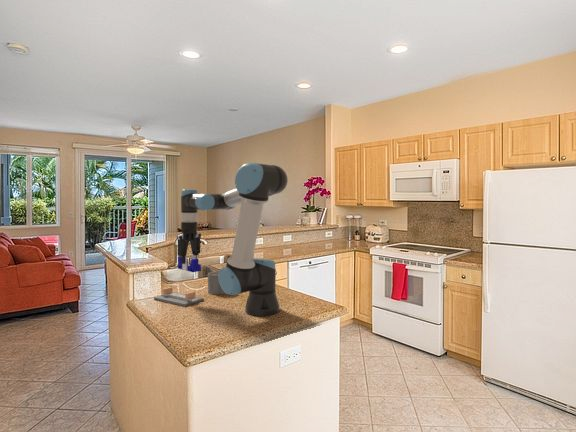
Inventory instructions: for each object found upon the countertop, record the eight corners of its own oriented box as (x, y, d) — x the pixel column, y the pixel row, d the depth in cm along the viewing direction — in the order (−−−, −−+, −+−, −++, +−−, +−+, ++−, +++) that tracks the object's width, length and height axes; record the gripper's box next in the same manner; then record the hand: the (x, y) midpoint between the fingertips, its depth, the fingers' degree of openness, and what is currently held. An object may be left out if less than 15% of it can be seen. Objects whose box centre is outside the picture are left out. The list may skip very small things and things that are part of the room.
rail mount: (203, 300, 173) (203, 290, 173) (184, 306, 163) (184, 296, 162) (173, 294, 184) (173, 284, 184) (153, 299, 174) (153, 289, 174)
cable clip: (200, 270, 169) (201, 258, 169) (193, 272, 166) (193, 259, 165) (185, 267, 177) (185, 255, 176) (177, 268, 173) (177, 256, 173)
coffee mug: (227, 293, 186) (227, 274, 185) (208, 294, 183) (207, 275, 183) (226, 287, 199) (225, 269, 198) (207, 288, 196) (207, 270, 196)
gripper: (197, 220, 179) (197, 265, 181) (168, 222, 164) (169, 271, 166) (208, 220, 175) (208, 267, 176) (179, 222, 160) (179, 273, 162)
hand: (189, 269), depth 171 cm, fingers closed on cable clip, 5 cm apart
